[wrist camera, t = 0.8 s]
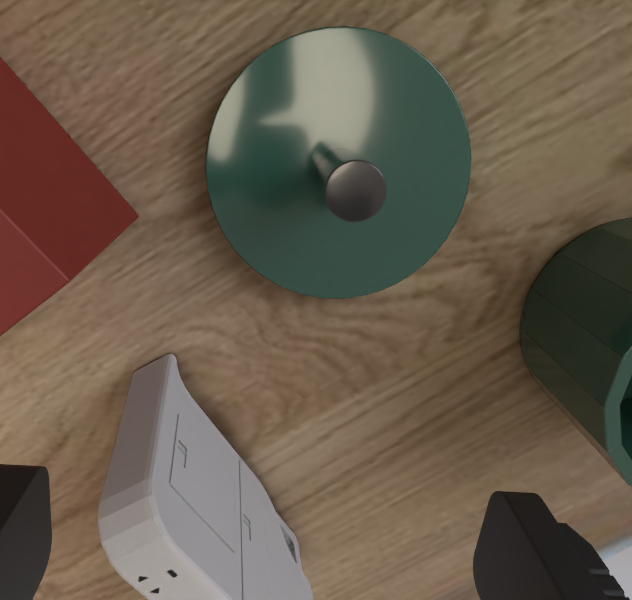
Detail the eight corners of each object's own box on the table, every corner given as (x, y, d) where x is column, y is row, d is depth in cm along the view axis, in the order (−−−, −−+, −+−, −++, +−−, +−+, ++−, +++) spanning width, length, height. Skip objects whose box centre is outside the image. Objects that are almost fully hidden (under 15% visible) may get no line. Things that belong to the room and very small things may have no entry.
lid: (371, -35, 24) (403, -74, 18) (508, 196, 28) (569, 223, 22) (153, 142, 26) (118, 157, 20) (310, 334, 30) (319, 393, 24)
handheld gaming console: (265, 531, 37) (128, 373, 30) (302, 513, 37) (173, 349, 30) (278, 720, 27) (79, 551, 20) (330, 698, 27) (145, 518, 20)
